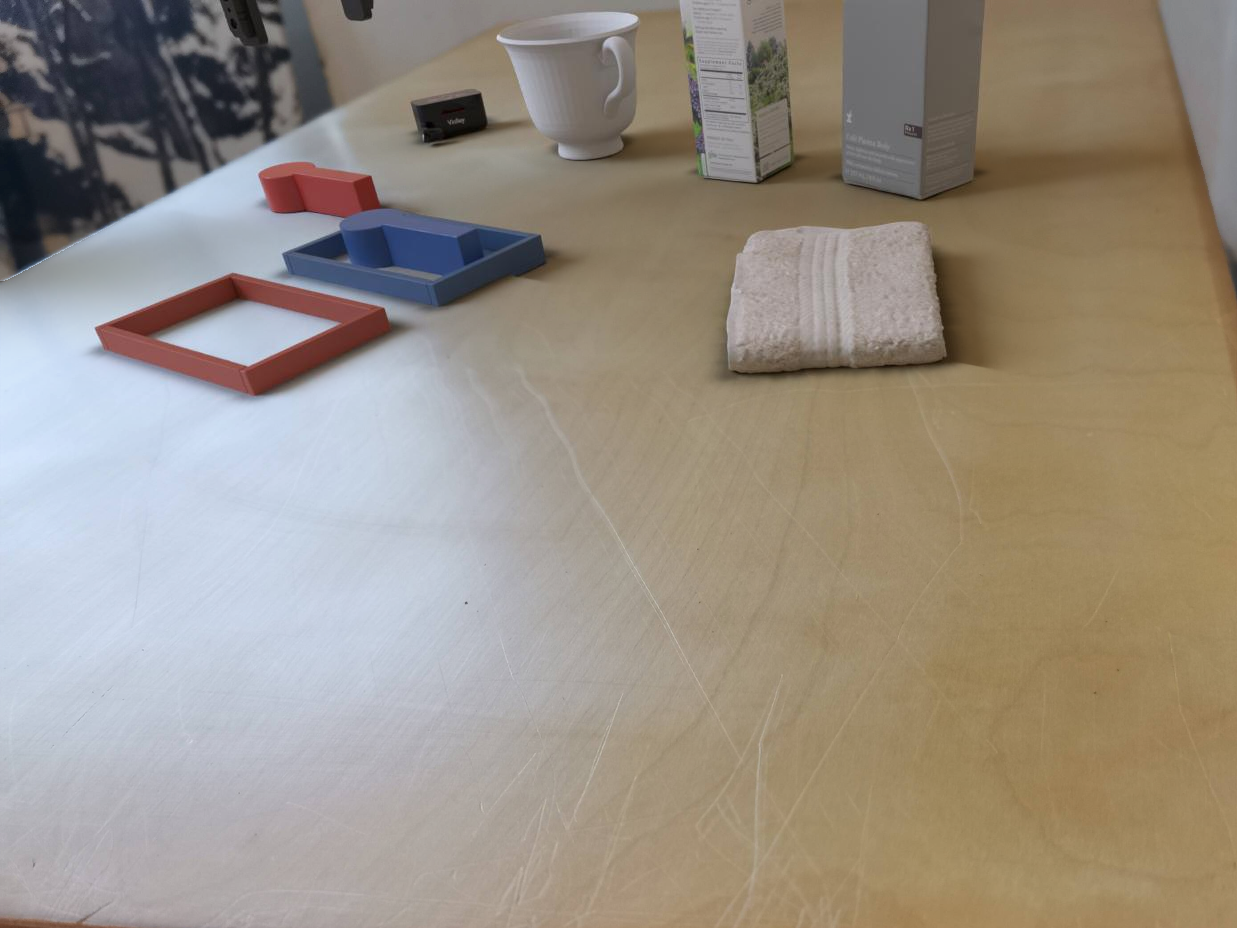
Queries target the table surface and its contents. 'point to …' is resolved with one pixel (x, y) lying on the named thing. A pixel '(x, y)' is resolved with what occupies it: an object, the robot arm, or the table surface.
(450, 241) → the blue rounded-end block
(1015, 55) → the table surface
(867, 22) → the cosmetic box
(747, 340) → the washcloth
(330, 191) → the red rounded-end block
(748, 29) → the syrup box
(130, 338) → the red frame
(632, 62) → the teacup
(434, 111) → the black electronic device
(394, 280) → the blue frame
